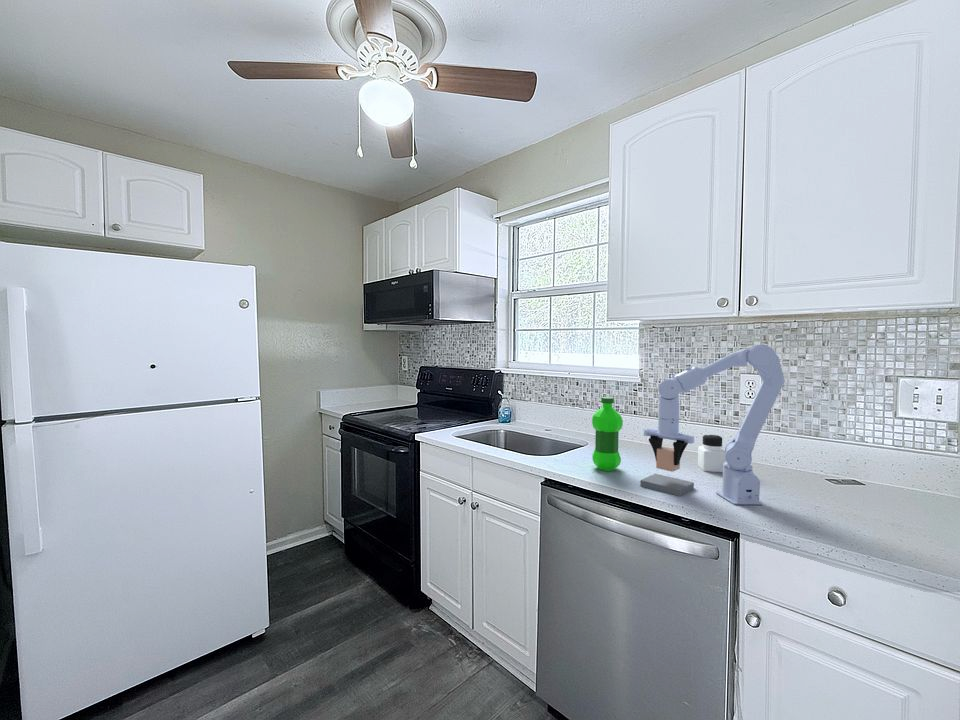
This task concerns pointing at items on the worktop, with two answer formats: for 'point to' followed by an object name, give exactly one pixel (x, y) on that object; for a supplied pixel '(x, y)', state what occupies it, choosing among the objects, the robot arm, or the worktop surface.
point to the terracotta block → (666, 459)
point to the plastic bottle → (606, 436)
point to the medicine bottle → (711, 454)
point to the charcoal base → (667, 484)
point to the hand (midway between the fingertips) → (667, 462)
